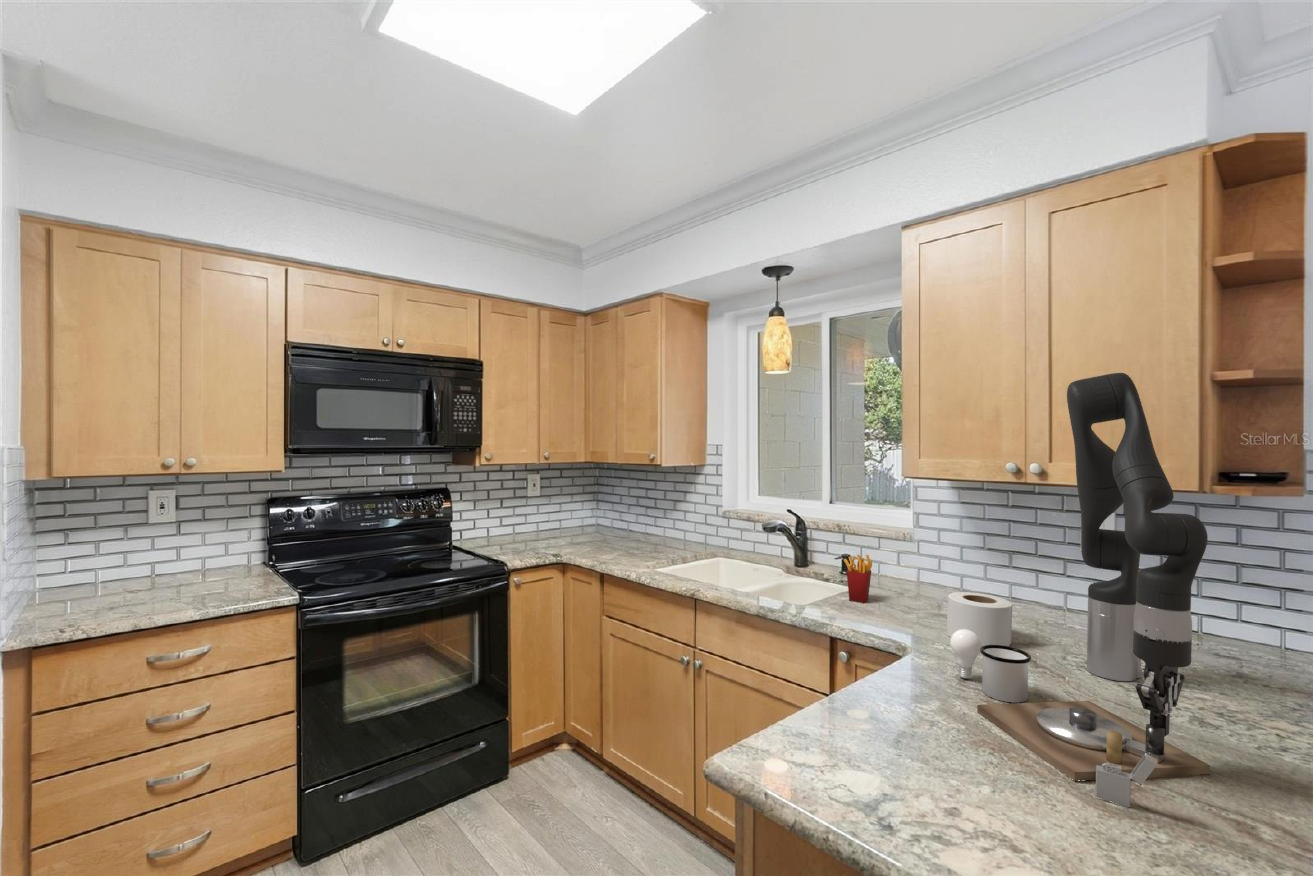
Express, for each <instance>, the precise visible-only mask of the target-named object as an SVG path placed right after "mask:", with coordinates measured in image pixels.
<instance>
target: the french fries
mask: <svg viewBox="0 0 1313 876" xmlns="http://www.w3.org/2000/svg"><path fill="white" fill-rule="evenodd" d="M856 558H857V564H856V563H855V560H856ZM865 558H866V562H865V559H864V557H862V556H861V555H860V554H857V555H856V556H855V555H854V556H853V557H852V556H848V559H849V561H848V560H847V558H844V559H843V562H844V563H845V565H846V567H847V570H846V577H847V579H846V580H847V587H848V588H847V589H848V601H849V602H854V603H861V604H865V603H866V602H867V601H869V596H870V595H869V593H870V586H871V579H872V567H873V561H872V559H871V558H870V556H869V554H866V555H865ZM849 562H850V563H849Z"/></svg>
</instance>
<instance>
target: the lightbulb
mask: <svg viewBox="0 0 1313 876" xmlns="http://www.w3.org/2000/svg"><path fill="white" fill-rule="evenodd" d="M949 644H950V648H951V650H952V651H953V653H954V655H955V657H956V661H957V664H958V677H960V678H961V679H963V680H968V679H972V677H973V665H974V664H975V661H976V658H977V657H979V655H980V654H981V653H980V647H982V643H981V640H980V638H979V637H978V635H977V634H976V633H974V632H973V631H971V630H968V629H960V630H957V631H955V632H954V633H953V634H952V636H951V637H950V639H949Z"/></svg>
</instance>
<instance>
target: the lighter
mask: <svg viewBox="0 0 1313 876" xmlns="http://www.w3.org/2000/svg"><path fill="white" fill-rule="evenodd" d="M1156 766H1157V760H1156V759H1155V758H1153V757H1152V756H1150V755H1148V754H1147V753H1146V754H1145V755H1144V756H1143V757H1142V759H1141V760H1140V761H1139V763H1138V764H1137V765H1136V767H1135V768H1134V769H1133V771H1132V772H1131V774H1129V773H1125V772H1121V766H1119V765H1115V764H1112V763H1108V762H1107V763H1104V764H1102V766H1099V765H1096V781H1095V798H1096V797H1099V798H1102V799H1104V800H1107V801H1112V802H1114V803H1117V804H1116V805H1118V804H1119V805H1118V806H1121V805H1122V806H1121V807H1124V806H1127V807H1126V808H1128V807H1130V808H1131V791H1132V781H1134V782H1135V783H1137V784H1138V785H1140V786H1142V785H1143V784H1144V782H1145V781H1146V780H1147V779H1148V778H1147V777H1148V776H1149V775H1150V774H1151V772H1152V771H1153V770H1154V768H1155V767H1156ZM1104 800H1103V801H1104ZM1107 801H1106V802H1107ZM1114 803H1113V804H1114Z"/></svg>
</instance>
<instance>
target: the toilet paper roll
mask: <svg viewBox="0 0 1313 876" xmlns="http://www.w3.org/2000/svg"><path fill="white" fill-rule="evenodd" d="M946 619H947V620H946V621H947V622H946V634H947V636H948V637H949V638H951V636H952V634H953V633H954V632H955V631H957V630H960V629H968V630H971V631H973V632H974V633H976V634H977V635H978V637H979V638H980V640H981V643H982V646H984V645H1003V646H1009V645H1010V644H1011V645H1012V628H1013V627H1012V626H1013V603H1012V602H1011V601H1010V600H1008V599H1005V598H1004V597H1003V598H1002V597H999V596H996V595H991V594H986V593H985V594H984V593H977V592H972V591H971V592H970V591H969V592H967V591H962V592H961V591H956V592H955V591H954V592H951V593H949V594H948V595H947V617H946ZM1011 645H1010V646H1011ZM1010 646H1009V647H1010Z"/></svg>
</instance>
